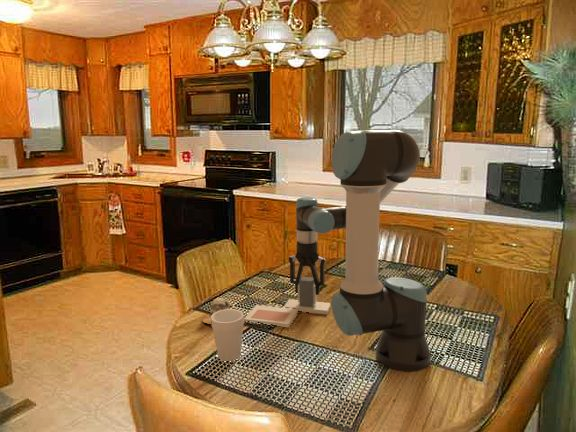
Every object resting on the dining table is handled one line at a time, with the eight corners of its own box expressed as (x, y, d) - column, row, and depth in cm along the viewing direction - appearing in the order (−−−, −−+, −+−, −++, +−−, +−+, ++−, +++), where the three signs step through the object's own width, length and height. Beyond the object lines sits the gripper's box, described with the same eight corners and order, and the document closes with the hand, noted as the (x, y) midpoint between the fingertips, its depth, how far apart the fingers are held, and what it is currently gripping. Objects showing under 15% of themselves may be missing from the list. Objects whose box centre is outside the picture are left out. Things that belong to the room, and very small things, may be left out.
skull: (235, 325, 145) (213, 304, 145) (214, 343, 148) (193, 322, 147) (243, 309, 157) (223, 289, 156) (223, 326, 160) (204, 306, 159)
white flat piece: (288, 328, 145) (288, 323, 145) (244, 323, 149) (243, 318, 149) (298, 312, 157) (298, 308, 157) (256, 308, 162) (256, 304, 161)
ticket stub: (327, 314, 155) (327, 284, 152) (284, 310, 159) (283, 280, 157) (330, 306, 161) (330, 277, 159) (289, 302, 166) (288, 274, 163)
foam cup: (230, 345, 134) (228, 306, 131) (252, 355, 128) (250, 314, 126) (206, 358, 127) (204, 317, 124) (228, 369, 121) (226, 326, 118)
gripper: (333, 239, 156) (333, 300, 161) (285, 236, 161) (286, 295, 166) (330, 245, 149) (329, 308, 154) (279, 242, 154) (281, 303, 159)
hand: (307, 301), depth 160 cm, fingers closed on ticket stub, 5 cm apart
